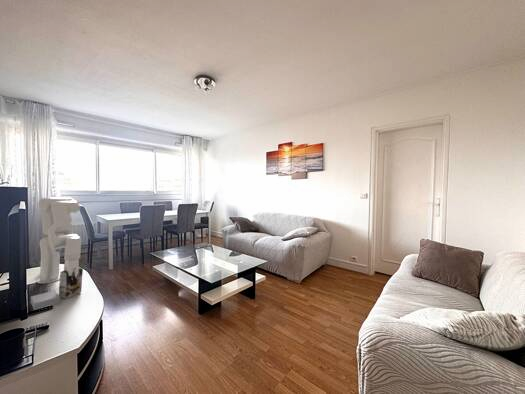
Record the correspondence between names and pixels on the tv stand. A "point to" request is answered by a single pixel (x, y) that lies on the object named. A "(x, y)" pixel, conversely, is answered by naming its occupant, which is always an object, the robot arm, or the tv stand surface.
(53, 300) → the base block
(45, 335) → the tv stand surface
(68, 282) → the coffee box
